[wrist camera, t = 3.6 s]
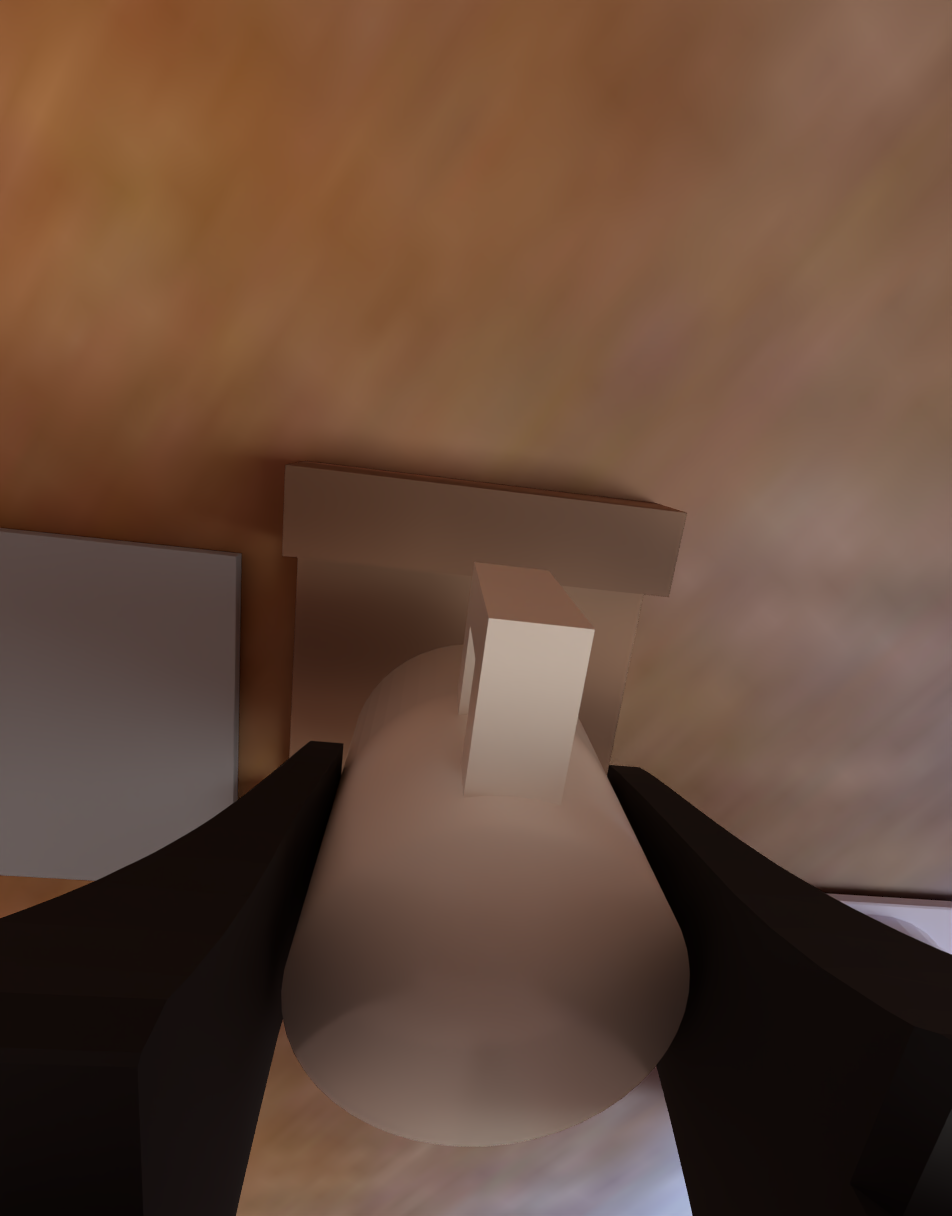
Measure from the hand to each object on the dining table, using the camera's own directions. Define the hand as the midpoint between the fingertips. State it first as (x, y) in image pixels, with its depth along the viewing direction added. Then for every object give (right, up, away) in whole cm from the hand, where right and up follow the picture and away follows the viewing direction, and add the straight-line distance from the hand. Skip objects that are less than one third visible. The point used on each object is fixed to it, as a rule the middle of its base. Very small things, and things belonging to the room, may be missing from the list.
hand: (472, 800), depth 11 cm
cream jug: (0, +2, +1) cm, 2 cm away
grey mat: (-12, +1, +5) cm, 13 cm away
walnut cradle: (0, +2, +5) cm, 6 cm away
